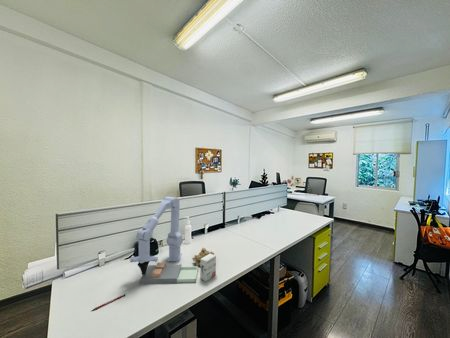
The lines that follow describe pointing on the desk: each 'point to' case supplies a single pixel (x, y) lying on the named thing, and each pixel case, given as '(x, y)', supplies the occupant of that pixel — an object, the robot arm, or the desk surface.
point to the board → (167, 276)
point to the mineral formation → (201, 256)
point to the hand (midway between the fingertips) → (144, 273)
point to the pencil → (108, 302)
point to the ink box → (207, 267)
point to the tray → (188, 274)
